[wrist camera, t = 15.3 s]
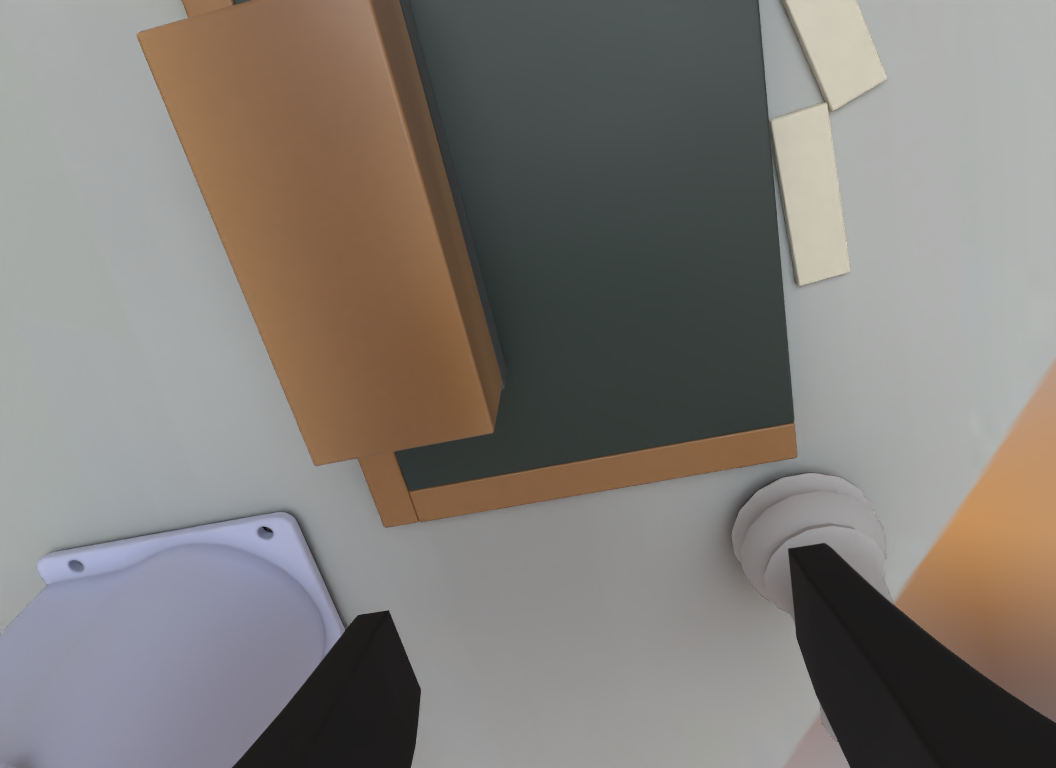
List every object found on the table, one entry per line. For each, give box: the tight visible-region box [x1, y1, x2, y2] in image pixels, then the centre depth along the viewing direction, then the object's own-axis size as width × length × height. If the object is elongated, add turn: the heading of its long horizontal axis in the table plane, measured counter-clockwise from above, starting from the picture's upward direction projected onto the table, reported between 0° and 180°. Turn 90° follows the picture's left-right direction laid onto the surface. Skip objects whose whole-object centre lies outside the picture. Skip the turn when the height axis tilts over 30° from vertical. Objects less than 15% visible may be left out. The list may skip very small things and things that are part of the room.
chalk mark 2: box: [769, 102, 851, 286], centre depth 18 cm, size 4×1×1 cm, turn 18°
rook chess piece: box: [731, 473, 894, 742], centre depth 19 cm, size 4×4×8 cm
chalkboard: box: [182, 0, 797, 528], centre depth 18 cm, size 13×19×1 cm
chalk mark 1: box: [782, 0, 887, 111], centre depth 16 cm, size 4×1×1 cm, turn 33°
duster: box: [137, 0, 507, 466], centre depth 16 cm, size 4×10×4 cm, turn 13°
